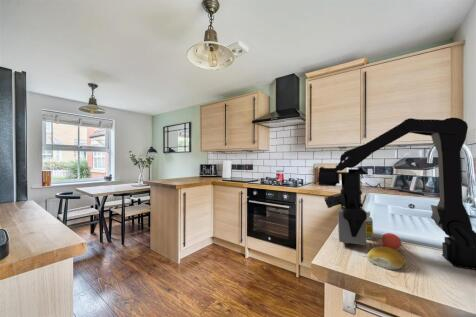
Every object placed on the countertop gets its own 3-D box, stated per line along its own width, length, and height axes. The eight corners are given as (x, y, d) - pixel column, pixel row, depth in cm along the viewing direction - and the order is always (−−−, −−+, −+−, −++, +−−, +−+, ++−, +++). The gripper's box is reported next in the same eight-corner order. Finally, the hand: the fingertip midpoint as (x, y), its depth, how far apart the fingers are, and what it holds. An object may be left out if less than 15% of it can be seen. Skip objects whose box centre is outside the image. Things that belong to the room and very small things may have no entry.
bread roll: (407, 262, 56) (406, 248, 56) (399, 274, 50) (399, 259, 50) (373, 252, 62) (372, 239, 62) (363, 262, 56) (362, 248, 56)
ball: (387, 227, 65) (376, 237, 67) (391, 233, 61) (379, 243, 62) (402, 239, 64) (390, 249, 65) (407, 245, 59) (394, 256, 61)
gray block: (338, 233, 73) (337, 209, 73) (362, 236, 69) (362, 211, 70) (339, 241, 66) (338, 215, 66) (366, 245, 62) (365, 217, 63)
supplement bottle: (360, 233, 77) (359, 208, 77) (375, 237, 73) (375, 211, 73) (353, 236, 74) (352, 210, 74) (369, 240, 70) (368, 213, 70)
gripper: (326, 183, 79) (327, 221, 79) (324, 190, 63) (326, 239, 62) (358, 184, 75) (359, 225, 75) (366, 191, 58) (367, 244, 58)
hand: (352, 232), depth 67 cm, fingers closed on gray block, 8 cm apart
